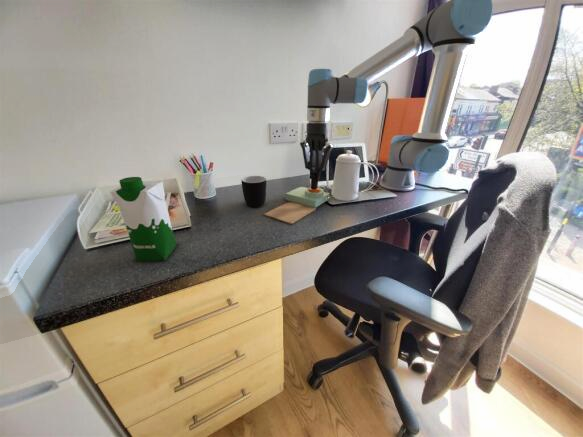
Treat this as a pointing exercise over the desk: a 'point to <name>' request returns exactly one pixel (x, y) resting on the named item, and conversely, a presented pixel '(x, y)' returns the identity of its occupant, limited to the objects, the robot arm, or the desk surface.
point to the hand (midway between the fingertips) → (314, 187)
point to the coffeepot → (347, 177)
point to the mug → (254, 190)
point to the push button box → (307, 197)
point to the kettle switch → (314, 190)
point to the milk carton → (145, 218)
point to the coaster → (290, 212)
